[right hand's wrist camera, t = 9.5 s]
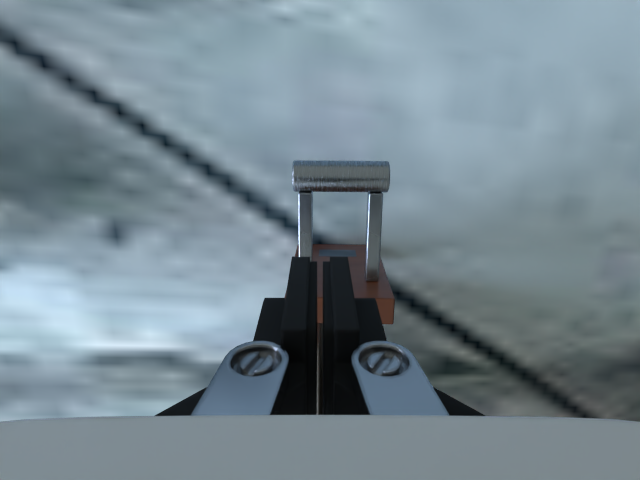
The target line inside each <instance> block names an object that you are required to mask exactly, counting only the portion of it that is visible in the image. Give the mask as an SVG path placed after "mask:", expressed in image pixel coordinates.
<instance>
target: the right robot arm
mask: <svg viewBox="0 0 640 480" xmlns="http://www.w3.org/2000/svg"><path fill="white" fill-rule="evenodd" d="M0 480H640V422H637V421H627V420H616V419H594V418H566V417H526V416H485V415H483V414H481V413H479V412H478V411H476V410H474V409H472V408H470V407H468V406H467V405H465V404H463V403H461V402H459V401H458V400H456V399H454V398H452V397H450V396H448V395H447V394H445V393H443V392H441V391H439V390H437V389H436V388H434V387H432V385H431V383H430V382H429V380H428V378H427V376H426V375H425V373H424V371H423V370H422V368H421V366H420V365H419V363H418V361H417V360H416V358H415V356H414V355H413V354H412V353H411V352H410V351H409V350H408V349H406V348H405V347H403V346H401V345H399V344H396V343H393V342H388V341H387V340H386V336H385V332H384V328H383V325H382V321H381V317H380V313H379V309H378V305H377V302H376V299H375V298H354V292H353V286H352V279H351V273H350V267H349V261H348V257H330V261H323V415H317V261H310V257H292V261H291V267H290V273H289V279H288V286H287V292H286V298H265V299H264V302H263V305H262V309H261V313H260V317H259V321H258V325H257V328H256V332H255V336H254V340H253V341H252V342H247V343H244V344H241V345H239V346H237V347H235V348H234V349H232V350H231V351H230V352H229V353H228V354H227V355H226V356H225V358H224V360H223V361H222V363H221V365H220V366H219V368H218V370H217V371H216V373H215V375H214V376H213V378H212V380H211V382H210V383H209V385H208V387H206V388H204V389H203V390H201V391H199V392H197V393H195V394H193V395H192V396H190V397H188V398H186V399H184V400H182V401H181V402H179V403H177V404H175V405H173V406H172V407H170V408H168V409H166V410H164V411H162V412H161V413H159V414H157V415H155V416H121V417H74V418H46V419H24V420H13V421H3V422H0Z"/></svg>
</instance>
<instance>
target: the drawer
mask: <svg viewBox="0 0 640 480" xmlns="http://www.w3.org/2000/svg"><path fill="white" fill-rule="evenodd" d="M292 181H293V190H294V191H299V193H298V223H299V244H298V246H297V250H296V254H295V257H310V261H317V415H323V261H330V257H348V261H349V267H350V273H351V279H352V286H353V292H354V298H375V299H376V302H377V305H378V309H379V313H380V317H381V321H382V324H393V320H394V305H395V299H394V296H393V293H392V290H391V287H390V284H389V281H388V278H387V275H386V272H385V269H384V267H383V264H382V261H381V258H380V245H381V225H382V205H383V193H382V192H388V190H389V184H390V165H389V162H388V161H294V162H293V170H292ZM313 192H368V203H367V228H366V245H338V244H313ZM286 292H287V290H286ZM285 298H286V294H285Z"/></svg>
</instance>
